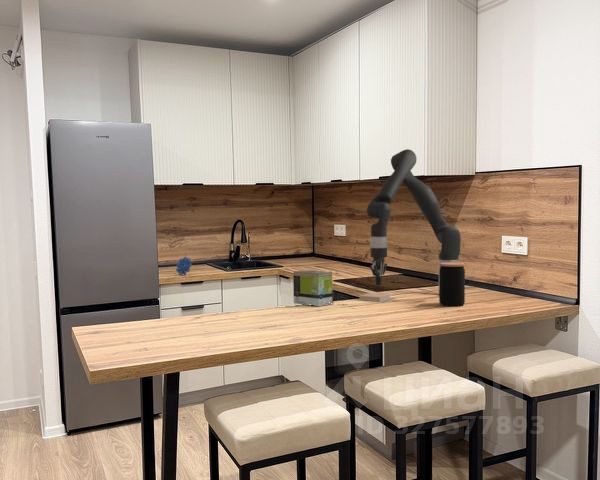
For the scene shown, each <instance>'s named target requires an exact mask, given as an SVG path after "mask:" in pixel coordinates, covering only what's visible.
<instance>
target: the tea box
mask: <svg viewBox="0 0 600 480" xmlns="http://www.w3.org/2000/svg"><path fill="white" fill-rule="evenodd" d="M292 275H293V276H292V277H293V279H292V280H293V281H292V282H293V283H292V284H293V304H296V305H304V306H309V305H308V304H311V305H314V306H313V307H318V306H319V307H324V306H323V305H325V306H328V305H327V304H331V303H332V304H333V271H329V270H328V271H326V270H315V269H312V270H310V269H304V270H296V271H293V274H292ZM329 302H330V303H329ZM332 304H331V305H332ZM311 305H310V306H311Z"/></svg>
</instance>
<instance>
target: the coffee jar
mask: <svg viewBox="0 0 600 480" xmlns="http://www.w3.org/2000/svg"><path fill="white" fill-rule="evenodd" d="M465 266H466V264H465V263H464V262H458V263H456V262H445V263H440V267H441V268H440V270H439V269H438V295H439V301H438V302H439V304H440V305H441V306H444V307H452V308H453V307H454V308H456V307H463V306H464V305H465V302H466V301H465V300H466V299H465V298H466V297H465V296H466V294H465V293H466V287H465V286H466V283H465V282H466V280H465V279H466V272H465V271H466V269H465Z"/></svg>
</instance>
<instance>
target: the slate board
mask: <svg viewBox="0 0 600 480" xmlns="http://www.w3.org/2000/svg"><path fill="white" fill-rule="evenodd" d="M396 299H397V298H396V297H390V299H388V300H384V301H381V302H380V303H386V302H390V301H392V300H396ZM355 301H361V302H366V301H365V300H360V298H357V299H355ZM370 302H372V303H373V302H374V303H377V302H376V301H370Z"/></svg>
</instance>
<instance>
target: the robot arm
mask: <svg viewBox="0 0 600 480" xmlns="http://www.w3.org/2000/svg"><path fill="white" fill-rule="evenodd" d="M416 164H417V155H416V152H415V151H413V150H411V149H407V148H406V149H404V150H401V151H400V152H397V153H396V154H394V155H392V157H391V158H390V165H391V166H392V169H393V172H392V173H391V175H389V177H388V178H387V179H386V180H385V182H384V183H383V185H382V187H381V188H380V190H379V192H378V194H377V195H375V196H374V198H373V199H372V200H370V202H369V204H368V205H367V209H366V213H367V216H368V217H369V218H372V219H378V221H377V222H376V223H371V226H370V244H369V245H370V247H369V251H370V253H369V254H370V258H372V259H373V260H372V265H370V266H369V267H370V271H371V273H372V275H373V276H374V277H375V285H376V286H381V285H383V280H382V279H383V276H385V273H386V270H387V266H388V263H386V261H385V258H387V257H388V238H387V237H388V236H387V235H388V234H387V231H388V230H387V227H388V224H389V219H390V217H391V207H390V204H391V203H392V202H393V200H394V198H395V196H396V195H397V192H398V191H399V188H400V187H401V185H402V184H404V186H405V187H406V189H407V190H408V191H409V193H410V195H411V196H412V198H413V200H414V201H415V203H416V205H417V207H418V208H419V209H420V210H421V212H422V214H423V215H424V217H425V218H426V220H427V221H428V223H429V224H430V226H431V229H432V231H433V233H434V236H435V237H436V239H437V241H438V242H439V243H440V244H441V247H440V248H441V250H440V252H439V253H438V271H439V270H440V268H441V267H440V263H445V262H456V263H460V262H459V256H460V254H461V243H462V242H461V239H462V238H461V232H460V230H459V229H458V228H457V227H455V226H450V225H449V223H448V222H447V221H446V219H445V217H444V216H443V214H442V212H441V211H442V210H441V207H440V203H439V201H438V199H437V196H436V195H435V193H434V192H433V190H432V188H431V187H430V186H428V185H427V184H426V183H424V182H423V181H422V180H420V179H418V178H417V177H416V176H415V175H414V174H413V172H412V170H413V168H414V167H415V165H416Z"/></svg>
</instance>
